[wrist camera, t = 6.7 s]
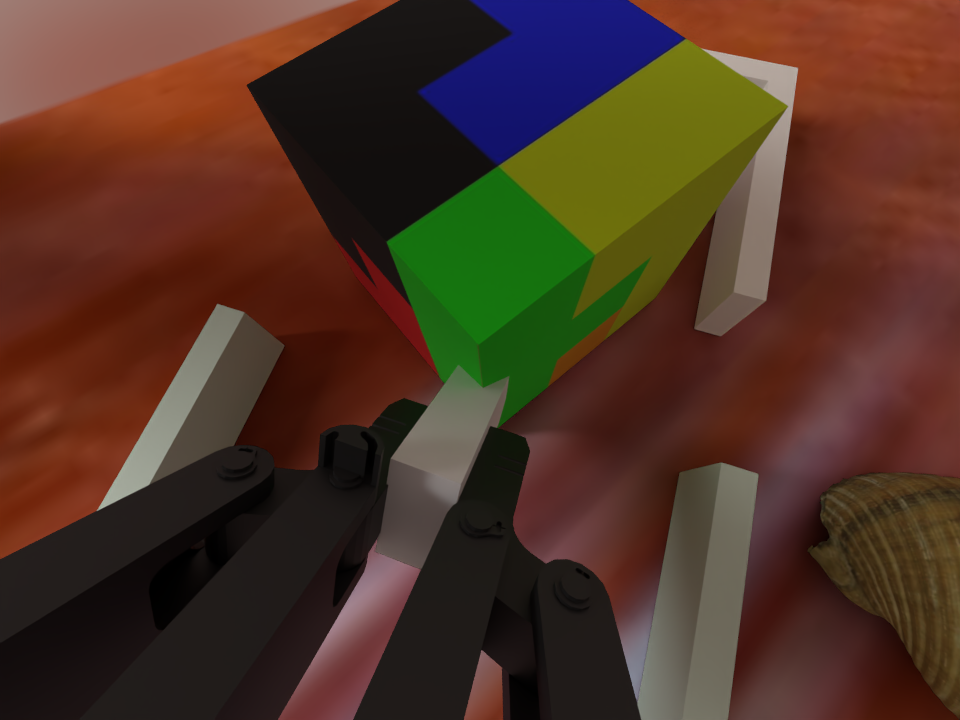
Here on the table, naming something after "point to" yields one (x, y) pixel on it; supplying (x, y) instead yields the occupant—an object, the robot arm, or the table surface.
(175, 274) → the table surface
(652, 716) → the channel
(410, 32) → the puzzle toy
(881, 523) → the seashell
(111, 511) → the robot arm
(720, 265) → the bay
